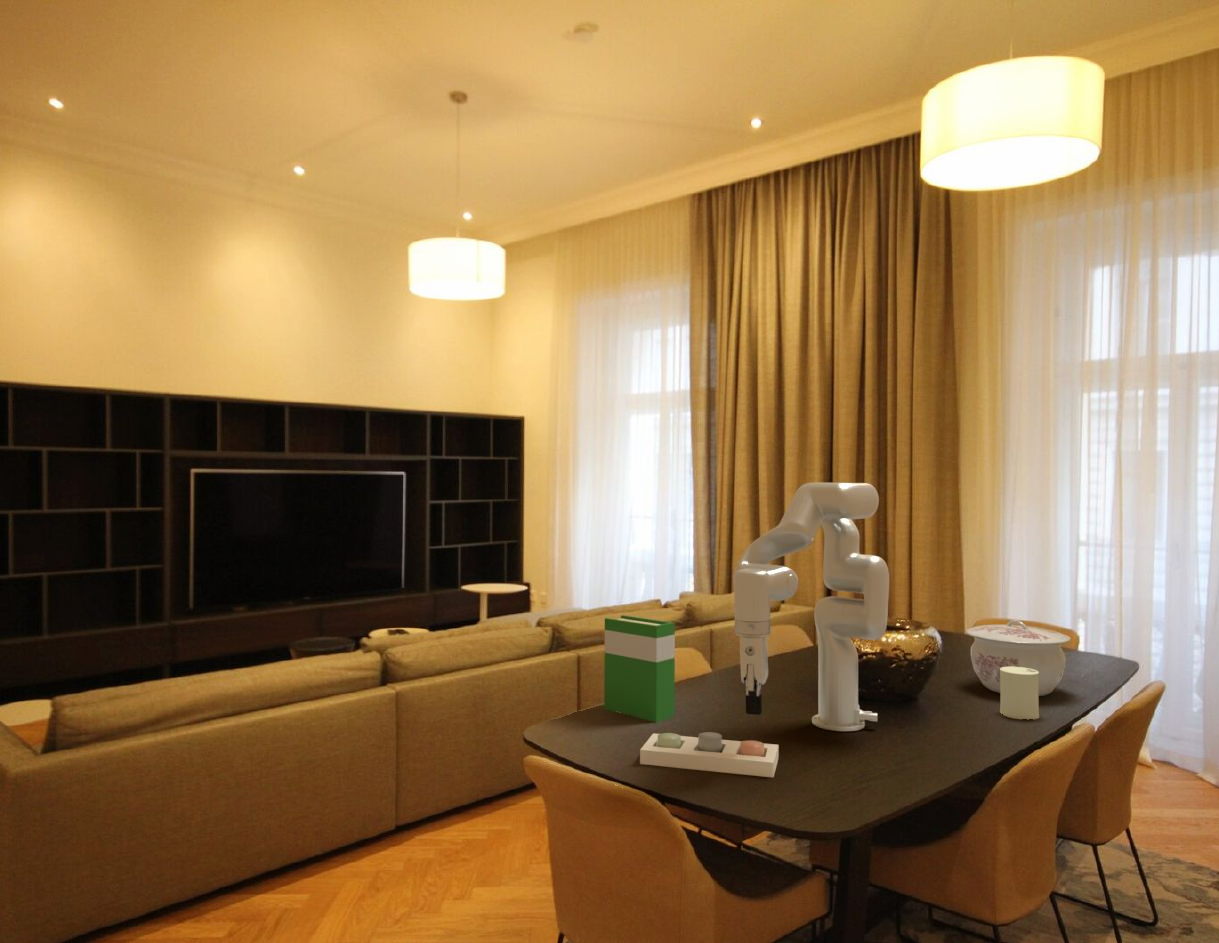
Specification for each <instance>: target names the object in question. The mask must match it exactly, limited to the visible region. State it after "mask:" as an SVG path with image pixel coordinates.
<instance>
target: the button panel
mask: <svg viewBox="0 0 1219 943" xmlns="http://www.w3.org/2000/svg"><path fill="white" fill-rule="evenodd" d="M659 734H660V733H654V732H653V733H652V734H651V736H649V738H648V739H647V741H646V742H645V743H644V744H643V746H642V747H641V748H640V750H639V764H640V765H649V766H658V767H666V768H676V769H686V770H687V769H688V770H697V771H698V770H699V771H704V772H705V771H706V772H717V773H723V774H724V773H726V774H736V775H744V776H745V775H746V776H754V777H755V776H756V777H764V778H765V777H766V778H774V777H775V772H776V769H777V765H778V762H779V760H780V759H779V753H780V752H779V751H780V750H779V748H780V747H779V746H780V745H779V744H773V743H763V742H762V743H763V744H764V757H759V756H748V755H740V743H741V742H743V740H742V741H739V740H729V739H722V753H717V752H707V751H698V737H697V736H687V735H686V736H685V735H680V736H681V748H680V749H675V748H665V747H658V735H659Z"/></svg>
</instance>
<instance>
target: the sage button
mask: <svg viewBox="0 0 1219 943" xmlns="http://www.w3.org/2000/svg"><path fill="white" fill-rule="evenodd" d="M658 734H659V735H658V747H665V748H675V749H680V748H681V736H682V735H680V734H677V733H673V732H664V733H663V732H662V733H658Z"/></svg>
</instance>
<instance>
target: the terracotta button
mask: <svg viewBox="0 0 1219 943" xmlns="http://www.w3.org/2000/svg"><path fill="white" fill-rule="evenodd" d="M764 744H765V743H764ZM764 744H763V742H761V741H758V740H742V742H741V743H740V755H748V756H759V757H764Z"/></svg>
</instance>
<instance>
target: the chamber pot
mask: <svg viewBox="0 0 1219 943" xmlns="http://www.w3.org/2000/svg"><path fill="white" fill-rule="evenodd" d="M964 632H965V633H966V634H967V636H970V637H972V638H973V639H974V641H973V643H972V645H971V646H970V658H971V663H972V667H973V670H974V672H975V673H976V675H977V677H978V679H979V681H980V682H981V684H982V685H983V686H984V687H985V688H986V689H988V690H990V691H992V692H995V693H996V692H997V693H996V694H999V693H1000V668H1002V667H1024V668H1030V669H1034V670H1037V671H1038V672H1039V683H1038V698H1039V696H1040V697H1042V696H1047V695H1050V694H1051V693H1052V692H1053V691H1054V690H1055V688H1056V687H1057V686H1058V684H1059V683H1060V681H1061V680H1062V678H1063V676H1064V671H1065V668H1066V654H1065V652H1064V650H1063V649H1062V645H1063V644H1068V643H1069V642H1071V640H1072V638H1071V637H1070V636H1069V635H1067V634H1065V633H1061V632H1059V631H1056V630H1054V629H1049V628H1048V629H1047V628H1042V627H1039V626H1033V625H1032V626H1031V625H1026V624H1025V623H1024V622H1022V621H1020V620H1018V619H1013V620H1009V621H1008V622H1007V623H1006V624H1003V623H1002V624H1000V623H999V624H997V623H996V624H995V623H994V624H982V625H981V624H980V625H975V626H973V627H969V628H967V629H965V630H964Z"/></svg>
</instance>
